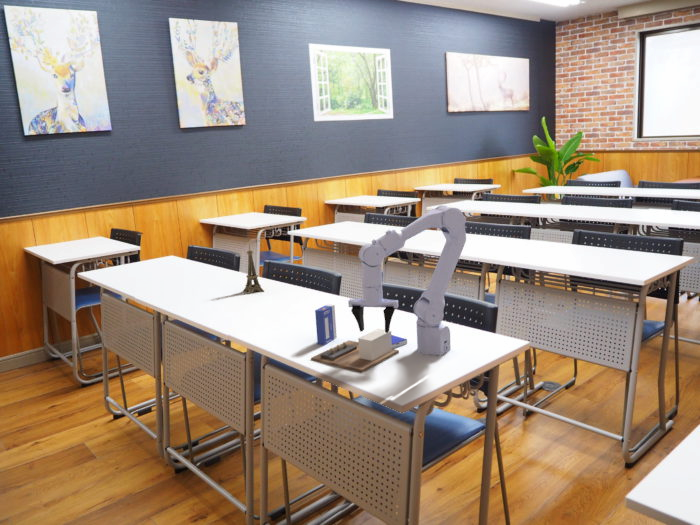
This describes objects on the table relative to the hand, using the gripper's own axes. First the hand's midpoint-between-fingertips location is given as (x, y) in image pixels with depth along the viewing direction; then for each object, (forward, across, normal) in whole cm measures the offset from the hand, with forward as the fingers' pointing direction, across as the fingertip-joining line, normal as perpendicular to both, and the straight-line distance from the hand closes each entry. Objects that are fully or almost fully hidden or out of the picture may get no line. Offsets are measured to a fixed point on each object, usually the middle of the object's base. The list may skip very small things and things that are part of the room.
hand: (374, 331), depth 167 cm
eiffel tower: (+8, +72, -63) cm, 96 cm away
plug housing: (+7, 0, 0) cm, 7 cm away
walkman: (+8, +19, -11) cm, 23 cm away
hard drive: (+7, +6, -16) cm, 19 cm away
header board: (+8, +6, +1) cm, 10 cm away
